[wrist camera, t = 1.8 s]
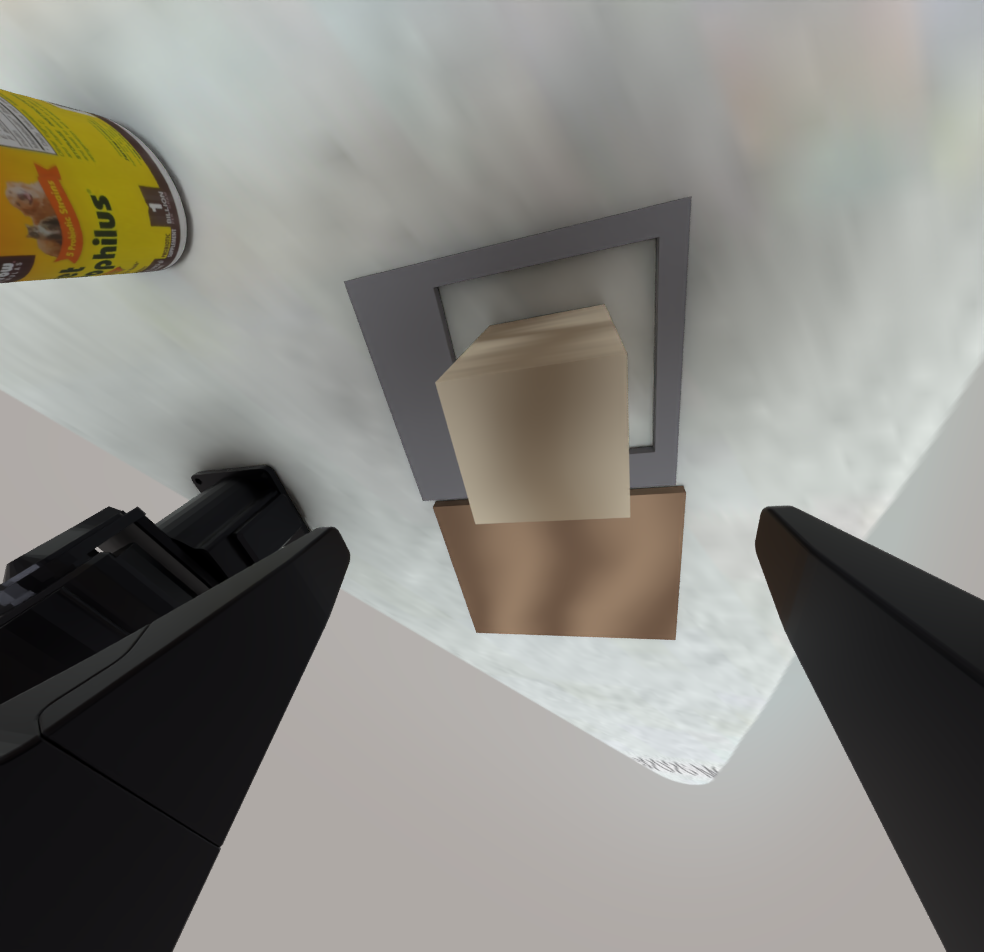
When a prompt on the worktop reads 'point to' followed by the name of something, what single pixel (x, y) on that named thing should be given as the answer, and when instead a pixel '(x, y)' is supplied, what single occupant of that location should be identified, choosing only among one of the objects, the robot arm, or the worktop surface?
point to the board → (572, 570)
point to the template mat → (429, 353)
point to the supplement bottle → (81, 196)
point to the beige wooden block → (542, 419)
